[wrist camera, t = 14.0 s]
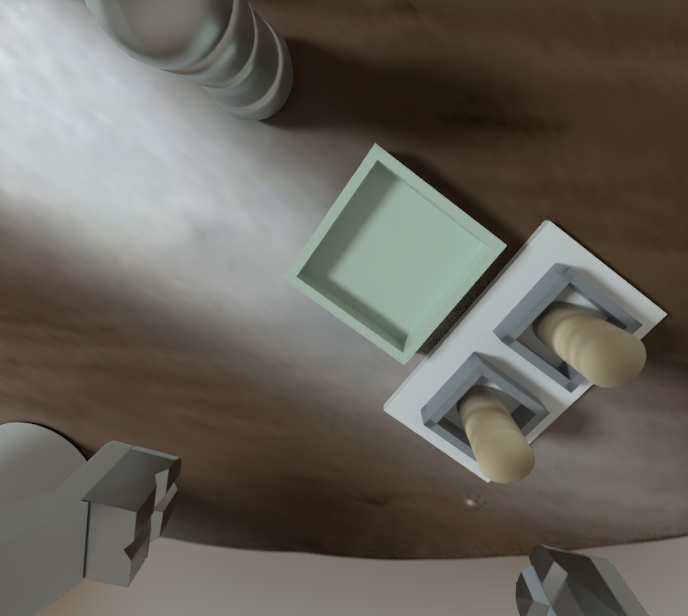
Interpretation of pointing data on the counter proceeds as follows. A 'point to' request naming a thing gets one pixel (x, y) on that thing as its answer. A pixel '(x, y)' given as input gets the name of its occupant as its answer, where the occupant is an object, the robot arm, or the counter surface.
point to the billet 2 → (590, 344)
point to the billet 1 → (494, 436)
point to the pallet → (517, 344)
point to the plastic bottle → (206, 48)
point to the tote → (392, 256)
